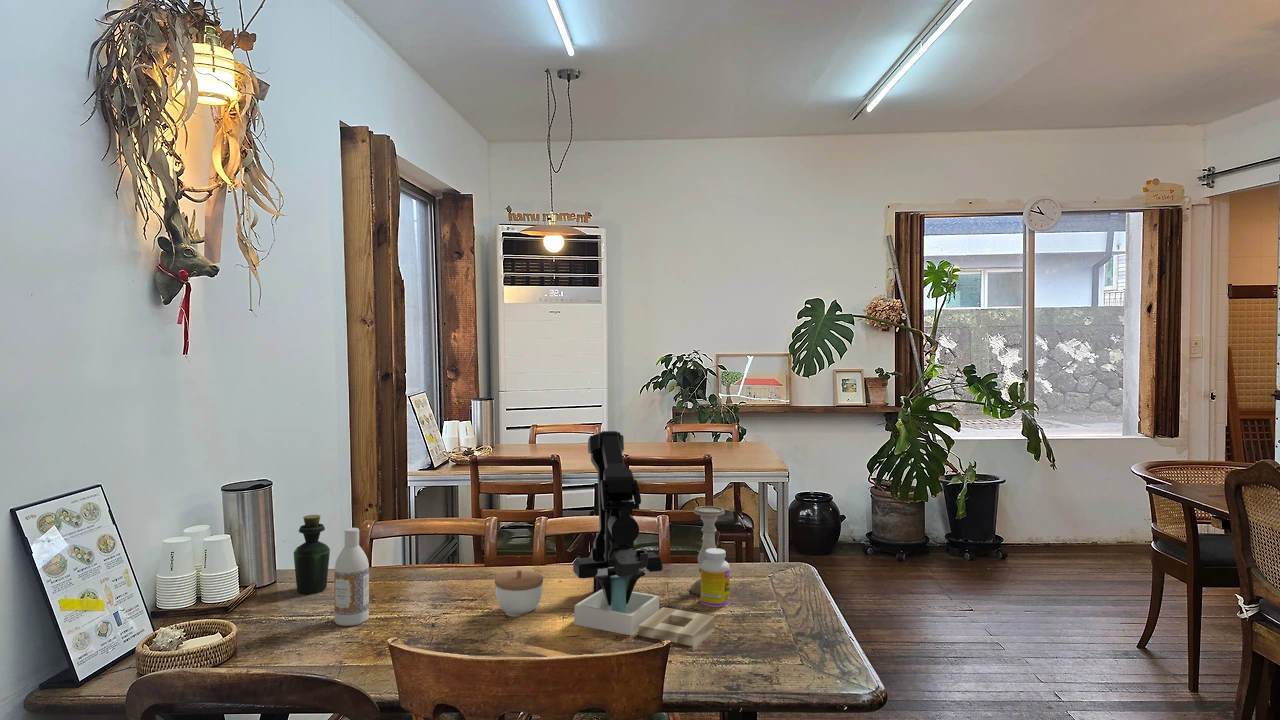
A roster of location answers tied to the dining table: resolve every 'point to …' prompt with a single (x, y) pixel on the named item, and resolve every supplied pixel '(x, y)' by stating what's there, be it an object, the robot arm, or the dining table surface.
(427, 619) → the dining table surface
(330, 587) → the dining table surface
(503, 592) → the lidded jar
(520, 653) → the dining table surface
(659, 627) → the bore plate
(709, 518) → the candle holder
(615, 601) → the peg
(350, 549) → the bath foam
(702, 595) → the supplement bottle
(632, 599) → the open box
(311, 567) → the potion bottle
